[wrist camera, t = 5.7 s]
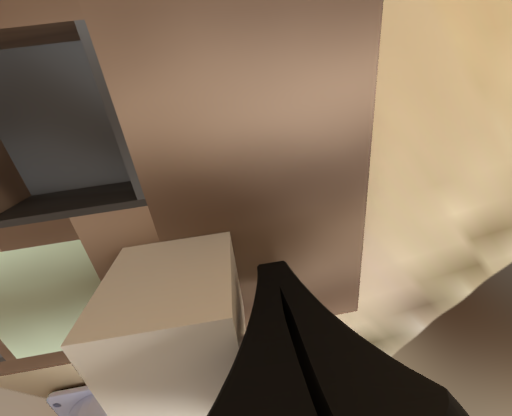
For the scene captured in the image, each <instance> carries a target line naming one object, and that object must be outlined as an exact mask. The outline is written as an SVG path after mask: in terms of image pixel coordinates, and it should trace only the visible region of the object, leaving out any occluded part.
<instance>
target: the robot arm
mask: <svg viewBox="0 0 512 416" xmlns="http://www.w3.org/2000/svg"><path fill="white" fill-rule="evenodd" d="M46 401H47V403H48V404H49V406H50V407H51V408H52V409H53V410H54V411H55V412H56V414H57V415H58V416H107V414H106V413H105V411H104V410H103V408H102V407H101V405H100V404H99V403H98V401H97V400H96V398H95V397H94V395H93V394H92V392H91V391H90V390H89V388H88V387H87V386H82V387H76V388H71V389H66V390H60V391H55V392H52V393H50V394H49V395H48V397H47V399H46ZM207 416H469V415H468V413H467V412H466V411H465V410H464V409H463V407H462V406H461V405H460V404H459V403H458V402H457V400H456V399H455V398H454V397H453V396H452V395H451V394H450V393H449V391H448V390H447V389H446V388H444V387H443V386H440V385H439V384H437V383H435V382H434V381H432V380H430V379H428V378H426V377H424V376H423V375H421V374H419V373H417V372H415V371H414V370H411V369H409V368H408V367H406V366H404V365H403V364H402V363H400V362H398V361H397V360H395V359H393V358H392V357H390V356H389V355H387V354H386V353H384V352H383V351H381V350H380V349H379V348H377V347H376V346H374V345H373V344H371V343H370V342H368V341H367V340H365V339H364V338H363V337H361V336H360V335H359V334H357V333H356V332H355V331H353V330H352V329H351V328H349V327H348V326H347V325H346V324H344V323H343V322H342V321H341V320H340V319H338V318H337V317H336V316H335V315H334V314H333V313H332V312H330V311H329V310H328V309H327V308H326V307H325V306H324V305H323V304H322V303H321V302H320V301H319V300H318V299H317V298H316V297H315V296H314V295H313V294H312V293H311V292H310V291H309V290H308V289H307V288H306V286H305V285H304V284H303V283H302V282H301V281H300V280H299V278H298V277H297V276H296V275H295V274H294V272H293V271H292V270H291V268H290V267H289V266H288V264H287V263H286V262H285V261H277V262H271V263H265V264H259V265H258V266H257V286H256V292H255V298H254V303H253V307H252V311H251V315H250V318H249V322H248V325H247V328H246V331H245V334H244V337H243V340H242V343H241V345H240V348H239V350H238V353H237V355H236V358H235V360H234V363H233V365H232V367H231V369H230V372H229V374H228V376H227V378H226V380H225V382H224V384H223V386H222V388H221V390H220V392H219V394H218V396H217V398H216V400H215V402H214V404H213V406H212V407H211V409H210V411H209V413H208V414H207Z"/></svg>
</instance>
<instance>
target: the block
mask: <svg viewBox="0 0 512 416" xmlns="http://www.w3.org/2000/svg"><path fill="white" fill-rule="evenodd" d="M245 331H246V328H245V316H244V306H243V300H242V295H241V290H240V284H239V279H238V273H237V268H236V263H235V257H234V252H233V246H232V241H231V236H230V232H223V233H217V234H210V235H204V236H197V237H190V238H184V239H177V240H171V241H164V242H158V243H151V244H145V245H138V246H132V247H125V248H122V250H121V251H120V253H119V254H118V256H117V258H116V259H115V261H114V262H113V264H112V265H111V267H110V269H109V270H108V272H107V273H106V275H105V277H104V278H103V280H102V281H101V283H100V284H99V286H98V288H97V289H96V291H95V292H94V294H93V295H92V297H91V299H90V300H89V302H88V303H87V305H86V307H85V308H84V310H83V311H82V313H81V314H80V316H79V318H78V319H77V321H76V322H75V324H74V325H73V327H72V329H71V330H70V332H69V333H68V335H67V337H66V338H65V340H64V341H63V343H62V344H61V346H60V348H61V349H62V350H63V352H64V353H65V355H66V356H67V358H68V359H69V361H70V362H71V363H72V365H73V366H74V368H75V369H76V371H77V372H78V374H79V375H80V376H81V378H82V379H83V381H84V382H85V384H86V385H87V387H88V388H89V390H90V391H91V392H92V394H93V395H94V397H95V398H96V400H97V401H98V403H99V404H100V405H101V407H102V408H103V410H104V411H105V413H106V414H107V416H207V414H208V413H209V411H210V409H211V407H212V406H213V404H214V402H215V400H216V398H217V396H218V394H219V392H220V390H221V388H222V386H223V384H224V382H225V380H226V378H227V376H228V374H229V372H230V369H231V367H232V365H233V363H234V360H235V358H236V355H237V353H238V350H239V348H240V345H241V343H242V340H243V337H244V334H245Z"/></svg>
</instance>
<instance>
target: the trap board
mask: <svg viewBox="0 0 512 416" xmlns="http://www.w3.org/2000/svg"><path fill="white" fill-rule="evenodd" d="M382 11H383V0H0V376H4V375H9V374H15V373H20V372H26V371H31V370H37V369H42V368H48V367H53V366H59V365H64V364H70V363H71V362H70V361H69V359H68V358H67V356H66V355H65V353H64V352H63V350H62V349H61V348H60V346H61V344H62V343H63V341H64V340H65V338H66V337H67V335H68V333H69V332H70V330H71V329H72V327H73V325H74V324H75V322H76V321H77V319H78V318H79V316H80V314H81V313H82V311H83V310H84V308H85V307H86V305H87V303H88V302H89V300H90V299H91V297H92V295H93V294H94V292H95V291H96V289H97V288H98V286H99V284H100V283H101V281H102V280H103V278H104V277H105V275H106V273H107V272H108V270H109V269H110V267H111V265H112V264H113V262H114V261H115V259H116V258H117V256H118V254H119V253H120V251H121V250H122V248H125V247H132V246H138V245H145V244H151V243H158V242H164V241H171V240H177V239H184V238H190V237H197V236H204V235H210V234H217V233H223V232H230V236H231V241H232V246H233V252H234V257H235V263H236V268H237V273H238V279H239V284H240V290H241V295H242V300H243V306H244V316H245V328H247V325H248V322H249V318H250V315H251V311H252V307H253V303H254V298H255V292H256V286H257V266H258V265H259V264H265V263H271V262H277V261H285V262H286V263H287V264H288V266H289V267H290V268H291V270H292V271H293V272H294V274H295V275H296V276H297V277H298V278H299V280H300V281H301V282H302V283H303V284H304V285H305V286H306V288H307V289H308V290H309V291H310V292H311V293H312V294H313V295H314V296H315V297H316V298H317V299H318V300H319V301H320V302H321V303H322V304H323V305H324V306H325V307H326V308H327V309H328V310H329V311H330V312H332V313H333V314H334V315H338V314H343V313H348V312H354V311H357V309H358V297H359V285H360V273H361V261H362V250H363V238H364V226H365V214H366V202H367V190H368V178H369V166H370V154H371V142H372V130H373V118H374V106H375V94H376V82H377V70H378V58H379V46H380V34H381V23H382Z"/></svg>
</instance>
